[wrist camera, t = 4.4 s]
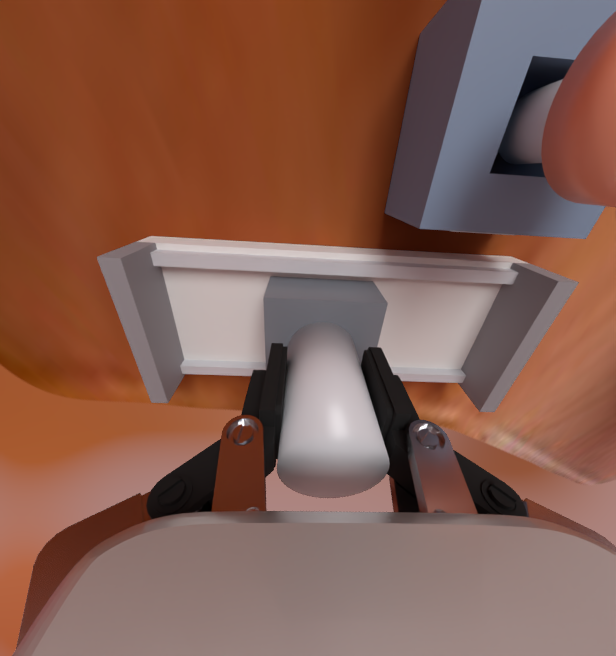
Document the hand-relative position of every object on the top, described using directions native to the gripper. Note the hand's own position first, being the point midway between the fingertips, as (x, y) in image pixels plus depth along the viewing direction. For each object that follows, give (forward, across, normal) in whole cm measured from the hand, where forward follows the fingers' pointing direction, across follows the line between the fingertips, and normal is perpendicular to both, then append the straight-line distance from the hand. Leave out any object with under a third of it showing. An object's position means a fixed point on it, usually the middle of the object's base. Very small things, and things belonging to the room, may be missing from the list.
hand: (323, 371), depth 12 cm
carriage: (+5, 0, 0) cm, 5 cm away
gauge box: (+6, -7, -10) cm, 14 cm away
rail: (+6, -1, 0) cm, 6 cm away
